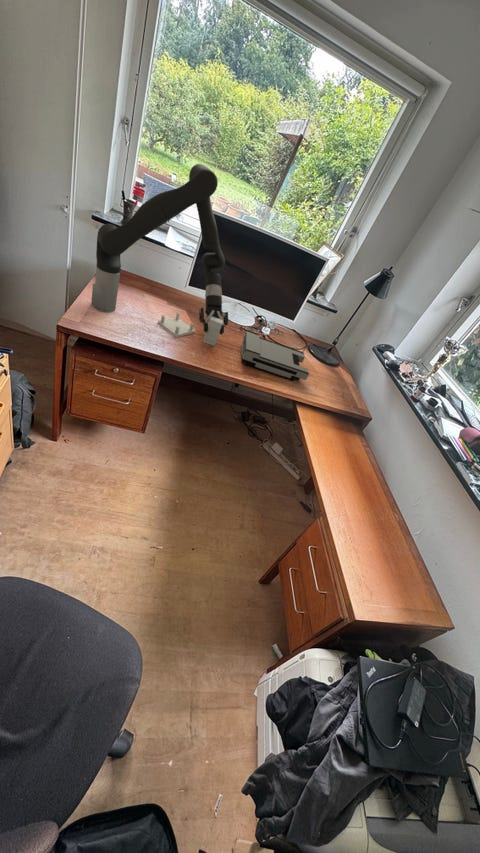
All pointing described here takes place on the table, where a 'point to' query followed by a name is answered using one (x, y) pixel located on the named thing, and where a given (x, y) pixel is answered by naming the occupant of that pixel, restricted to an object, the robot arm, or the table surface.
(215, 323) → the skincare box
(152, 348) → the table surface
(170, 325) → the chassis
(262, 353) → the grey slotted box
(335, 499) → the table surface
